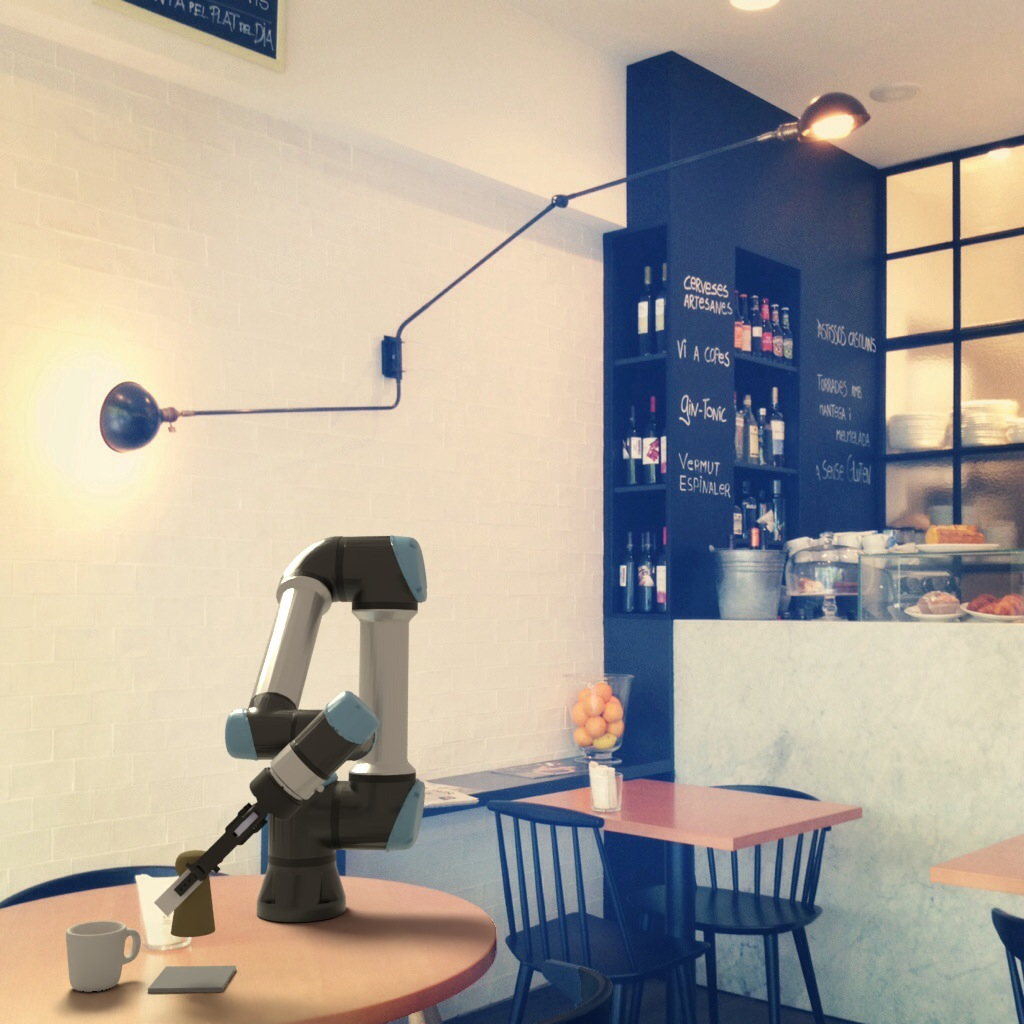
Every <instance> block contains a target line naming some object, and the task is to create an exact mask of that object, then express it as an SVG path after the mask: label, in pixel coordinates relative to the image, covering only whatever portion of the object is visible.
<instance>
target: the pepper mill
mask: <svg viewBox="0 0 1024 1024" xmlns="http://www.w3.org/2000/svg"><path fill="white" fill-rule="evenodd" d="M206 851H207V850H198V849H196V850H195V849H194V850H187V851H184V852H181V853H179V854H178V856H177V858H176V859H175V863H174V868H175V873H176V874H177V875H178V878H179V877H180V876H181V875H182V874H183V873H184V872H185V871H186V870H187V869H188V868H187V867H186V866H185V865H186V864H187V863H188V862H189V863H190V865H192V864H194V863H195V862H196V861H197V860H198V859H199V858H200V857H201V856H202V855H203V854H204V853H205V852H206ZM209 874H210V873H209ZM209 874H208V875H207V878H206V879H205V880H204V881H203V882H202V883H201V884H200V885H199V886H198V887H197V888H196V889H195V890H194V891H193V892H192V893H191V894H190V895H189V896H188V897H187V898H186V899H185V900H184V901H183V902H182V903H181V904H180V905H179V906H178V907H177V908H176V909H175V910H174V911H173V913H172V914H173V915H172V916H173V917H172V923H171V930H170V934H171V936H174V937H178V938H198V937H203V936H208V935H211V934H213V933H215V932H216V922H215V918H214V917H215V916H214V915H215V914H214V908H213V907H214V905H213V899H212V888H211V878H210V875H211V874H210V875H209Z"/></svg>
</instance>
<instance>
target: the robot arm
mask: <svg viewBox="0 0 1024 1024" xmlns="http://www.w3.org/2000/svg"><path fill="white" fill-rule="evenodd" d="M427 581H428V580H427V572H426V566H425V561H424V555H423V551H422V547H421V545H420V543H419V542H418V540H417V539H415V538H414V537H412V536H410V537H409V536H403V535H402V536H399V535H371V536H370V535H367V536H366V535H364V536H363V535H362V536H360V535H359V536H358V535H357V536H343V535H340V536H339V535H336V536H335V535H334V536H329V537H325V538H322V539H320V540H318V541H316V542H314V543H312V544H311V545H309V546H308V547H306V548H305V549H304V550H302V551H301V552H300V553H299V554H298V555H297V556H296V557H295V558H294V559H293V560H292V561H291V562H290V564H289V565H288V566H287V567H286V569H285V570H284V572H283V574H282V575H281V578H280V580H279V583H278V586H277V589H276V594H275V595H276V596H275V597H276V601H277V604H278V606H277V610H276V613H275V616H274V620H273V623H272V626H271V630H270V634H269V637H268V639H267V643H266V646H265V650H264V654H263V657H262V660H261V664H260V666H259V670H258V673H257V676H256V681H255V683H254V688H253V690H252V694H251V696H250V701H249V702H248V703H249V704H248V707H247V708H246V707H242V708H238V709H237V708H236V709H234V710H232V711H231V712H230V713H229V714H228V716H227V719H226V723H225V728H224V742H225V743H224V744H225V748H226V751H227V753H228V754H229V756H230V757H232V758H234V759H236V760H237V759H238V760H249V761H258V760H262V761H264V760H265V761H268V760H269V761H270V760H271V761H270V766H268V767H264V769H262V770H261V771H260V772H259V773H258V774H257V775H256V776H255V777H254V778H253V779H252V780H251V781H250V783H249V790H250V792H251V794H252V796H253V797H254V798H255V799H256V802H255V803H253V804H251V802H248V803H246V804H245V805H243V807H241V809H240V810H238V811H237V816H235V818H234V819H232V820H231V822H229V823H228V824H227V825H226V827H225V828H224V831H225V832H224V833H223V834H222V835H221V836H220V837H219V838H218V839H217V840H216V841H215V842H214V843H212V845H211V846H210V847H209V848H208V849H207V850H205V851H206V852H205V853H204V854H203V855H202V856H201V857H200V858H199V859H198V860H197V861H196V862H195V863H194V864H192V865H190V863H189V862H188V863H187V864H186V865H185V866H186V867H187V868H188V869H187V870H186V871H185V872H184V873H183V874H182V875H181V876H180V877H179V876H178V878H177V879H176V880H175V881H174V882H172V884H171V885H170V886H169V887H168V888H166V890H165V891H164V892H163V893H162V894H161V895H160V896H159V897H157V899H156V900H155V901H154V902H153V903H154V905H156V906H157V907H158V909H160V910H161V912H162V913H163V914H164V916H166V917H169V916H170V915H171V914H173V913H174V910H175V909H176V908H177V907H178V906H179V905H180V904H181V903H182V902H183V901H184V900H185V899H186V898H187V897H188V896H189V895H190V894H191V893H192V892H193V891H194V890H195V889H196V888H197V887H198V886H199V885H200V884H201V883H202V882H203V881H204V880H205V879H206V878H207V875H208V874H209V873H210V874H209V876H210V875H211V874H212V871H213V872H214V874H218V873H219V871H221V868H220V867H219V865H220V864H221V863H222V862H223V861H224V860H225V858H226V857H227V856H229V854H231V853H232V851H234V849H236V847H238V846H243V845H244V844H245V843H246V842H247V841H249V839H250V838H251V837H252V836H253V835H254V834H257V833H259V832H260V831H261V830H262V829H263V828H264V827H265V825H267V826H268V827H267V828H268V829H267V867H266V871H265V875H264V878H263V880H262V883H261V887H260V890H259V893H258V895H257V899H256V915H257V916H258V917H259V918H261V919H263V920H267V921H272V922H279V923H280V922H281V923H306V922H307V923H308V922H315V921H317V922H318V921H322V920H327V919H328V920H329V919H331V918H332V919H333V918H335V917H338V916H340V915H342V914H343V913H345V912H346V910H347V897H346V893H345V889H344V886H343V882H342V880H341V877H340V873H339V870H338V866H337V851H385V852H386V853H389V852H391V851H406V850H410V849H411V848H412V847H413V846H415V844H416V842H417V840H418V837H419V834H420V829H421V825H422V819H423V814H424V808H425V797H426V793H425V791H426V785H425V782H423V781H422V780H420V779H417V770H416V768H415V767H414V766H413V765H412V764H411V763H410V762H409V761H408V744H409V743H408V742H409V741H408V738H409V737H408V735H409V733H408V729H409V728H408V726H409V725H408V724H409V650H410V649H409V646H410V644H409V643H410V639H409V638H410V622H411V620H412V619H413V618H414V617H415V616H416V615H418V613H419V612H418V611H419V609H418V608H419V604H422V603H425V602H426V601H427V598H428V591H427V589H428V582H427ZM337 602H338V603H340V602H341V603H351V613H352V615H353V616H354V617H356V619H357V620H358V621H359V665H358V666H359V667H358V669H359V670H358V671H359V672H358V673H359V674H358V675H359V677H358V696H357V694H355V693H354V692H352V691H349V690H344V691H341V692H340V693H339V694H338V695H337V696H336V697H335V698H334V699H333V700H331V701H329V702H328V703H327V704H326V705H325V707H324V708H323V709H301V708H300V703H301V699H302V697H303V696H302V695H303V691H304V688H305V683H306V680H307V677H308V673H309V672H308V671H309V668H310V664H311V660H312V656H313V653H314V650H315V645H316V642H317V638H318V633H319V630H320V626H321V623H322V618H323V617H324V615H325V614H327V613H328V612H329V611H330V609H331V607H332V605H333V603H337ZM299 708H300V709H299ZM347 761H348V762H350V761H353V762H355V764H354V765H352V767H350V769H349V770H348V780H339V776H338V775H337V774H338V773H336V772H337V771H338V770H339V769H340V768H341V767H342V766H343V765H344V764H345V763H346V762H347ZM266 818H267V819H266Z"/></svg>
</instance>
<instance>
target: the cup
mask: <svg viewBox="0 0 1024 1024" xmlns="http://www.w3.org/2000/svg"><path fill="white" fill-rule="evenodd" d="M129 936H130V937H131V939H132V945H131V946H132V947H131V949H130V952H129V953H128V954H127V955H125V946H126V940H127V939H128V937H129ZM65 941H66V953H67V954H66V955H67V964H68V966H67V967H68V969H67V970H68V979H69V983H70V986H71V988H72V989H74V990H75V991H77V992H82V991H84V992H83V993H93V992H92V991H97V992H102V991H101V990H103V991H106V989H107V990H109V988H110V989H113V987H115V986H117V984H118V983H119V982H120V979H121V976H122V970H123V965H126V964H130V963H131V962H133V961H134V960H136V958H137V957H138V955H139V954H140V949H141V935H140V933H139V931H137V929H134V928H130V927H127V925H126V924H125V923H124V922H121V921H116V920H95V921H94V920H93V921H88V922H83V923H82V922H81V923H78V924H73V925H72V926H70V927H68V928H67V929H66V931H65Z"/></svg>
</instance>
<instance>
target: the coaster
mask: <svg viewBox="0 0 1024 1024" xmlns="http://www.w3.org/2000/svg"><path fill="white" fill-rule="evenodd" d="M235 970H236V971H237V965H184V966H183V965H181V966H179V965H178V966H165V967H164V969H162V971H161V972H160V973H159V975H157V977H156V978H155V979H154V980H153V982H152V983H151V984H150V985H149V987H148V988H147V993H148V994H158V993H159V994H160V993H161V994H162V993H165V994H169V993H170V994H171V993H178V994H179V993H222V991H224V990H225V988H226V987H227V985H228V984H227V983H229V982H230V981H231V979H232V977H233V976H234V974H235V972H236V971H235ZM232 975H233V976H232ZM230 978H231V979H230Z"/></svg>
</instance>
